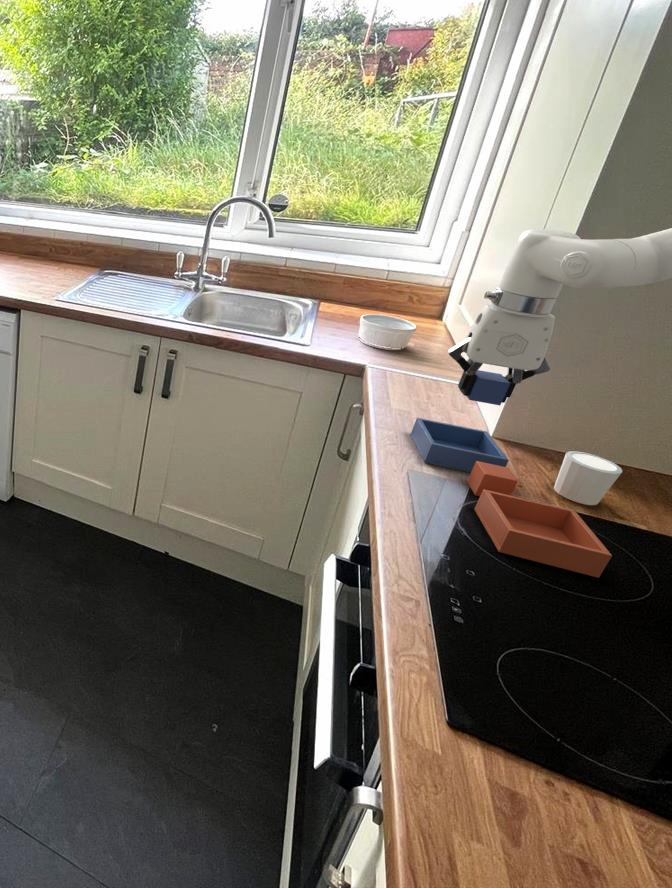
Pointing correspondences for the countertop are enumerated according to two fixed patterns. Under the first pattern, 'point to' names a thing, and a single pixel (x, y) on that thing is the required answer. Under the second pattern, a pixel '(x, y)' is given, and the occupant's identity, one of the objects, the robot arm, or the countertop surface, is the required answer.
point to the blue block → (489, 388)
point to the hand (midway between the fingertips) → (481, 395)
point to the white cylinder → (585, 477)
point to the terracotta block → (491, 479)
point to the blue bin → (455, 445)
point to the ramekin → (385, 331)
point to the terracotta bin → (541, 533)
